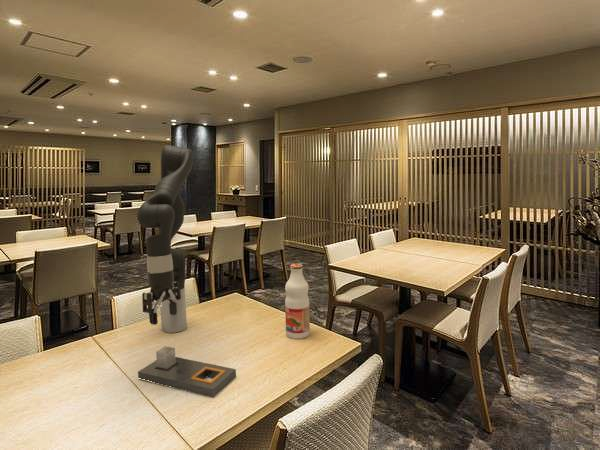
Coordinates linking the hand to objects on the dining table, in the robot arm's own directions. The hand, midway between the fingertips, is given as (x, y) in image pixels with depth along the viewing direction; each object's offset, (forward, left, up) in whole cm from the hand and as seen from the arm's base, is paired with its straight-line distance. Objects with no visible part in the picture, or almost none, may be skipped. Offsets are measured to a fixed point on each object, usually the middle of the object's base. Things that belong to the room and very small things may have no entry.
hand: (163, 319), depth 120 cm
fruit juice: (+28, +42, -18) cm, 54 cm away
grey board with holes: (+8, 0, -18) cm, 20 cm away
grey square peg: (0, 0, -18) cm, 18 cm away
